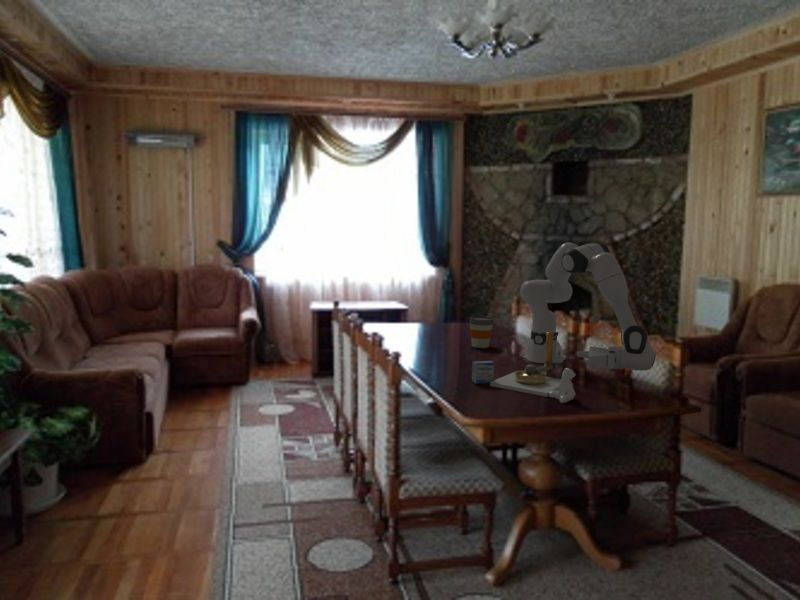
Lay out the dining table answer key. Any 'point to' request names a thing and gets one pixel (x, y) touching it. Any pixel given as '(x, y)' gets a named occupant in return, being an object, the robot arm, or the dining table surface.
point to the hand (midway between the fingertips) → (577, 353)
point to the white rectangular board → (540, 390)
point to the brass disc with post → (540, 371)
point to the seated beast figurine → (564, 387)
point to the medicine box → (482, 372)
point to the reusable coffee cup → (480, 331)
